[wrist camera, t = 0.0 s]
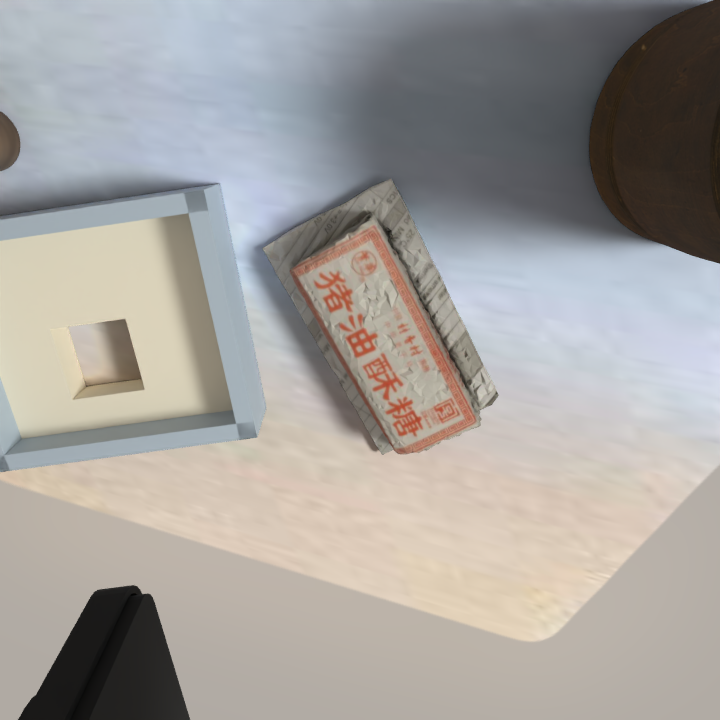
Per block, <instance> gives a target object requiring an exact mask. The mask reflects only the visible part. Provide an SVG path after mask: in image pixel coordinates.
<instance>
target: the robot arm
mask: <svg viewBox="0 0 720 720" xmlns="http://www.w3.org/2000/svg"><path fill="white" fill-rule="evenodd" d="M18 720H190V718H189V714H188V711H187V708H186V705H185V701H184V698H183V695H182V691H181V688H180V685H179V681H178V678H177V675H176V672H175V668H174V665H173V662H172V659H171V655H170V652H169V649H168V645H167V643H166V639H165V635H164V632H163V629H162V625H161V623H160V619H159V616H158V612H157V609H156V606H155V602H154V600H153V597H152V596H151V595H150V594H142V593H141V591H140V589H139V588H138V587H137V586H134V585H132V586H124V587H116V588H109V589H101V590H97V591H95V592H94V594H93V595H92V596H91V597H90V599H89V601H88V603H87V604H86V606H85V608H84V610H83V612H82V613H81V615H80V617H79V619H78V621H77V623H76V624H75V626H74V628H73V630H72V631H71V633H70V635H69V637H68V639H67V640H66V642H65V644H64V646H63V647H62V650H61V651H60V653H59V655H58V656H57V658H56V660H55V662H54V664H53V665H52V667H51V669H50V671H49V673H48V674H47V676H46V678H45V680H44V682H43V683H42V685H41V687H40V689H39V691H38V692H37V694H36V696H34V697H33V698H32V699H31V700H30V702H29V703H28V704H27V706H26V707H25V708H24V710H23V712H22V714H21V716H20V717H19V719H18Z"/></svg>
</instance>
